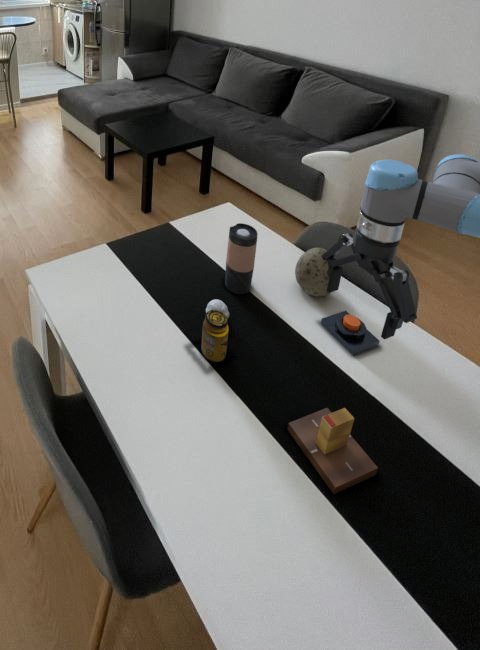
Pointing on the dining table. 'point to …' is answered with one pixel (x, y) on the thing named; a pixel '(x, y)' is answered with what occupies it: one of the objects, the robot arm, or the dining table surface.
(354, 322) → the button
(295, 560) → the dining table surface
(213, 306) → the white lumpy ball
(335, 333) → the switch block
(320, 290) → the decorative egg
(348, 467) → the brown wooden flat block
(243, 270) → the travel mug
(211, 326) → the condiment
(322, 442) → the yellow upright flat block
